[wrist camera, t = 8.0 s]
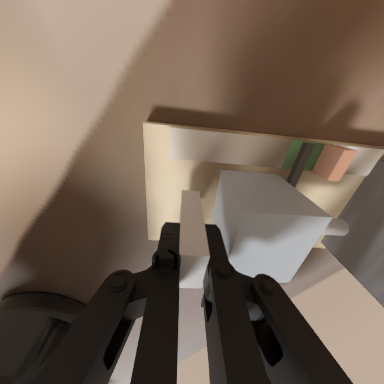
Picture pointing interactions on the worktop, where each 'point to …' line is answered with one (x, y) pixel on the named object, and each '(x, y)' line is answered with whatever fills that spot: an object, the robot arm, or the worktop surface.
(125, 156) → the worktop surface
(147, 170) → the board
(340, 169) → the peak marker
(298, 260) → the block
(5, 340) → the robot arm
